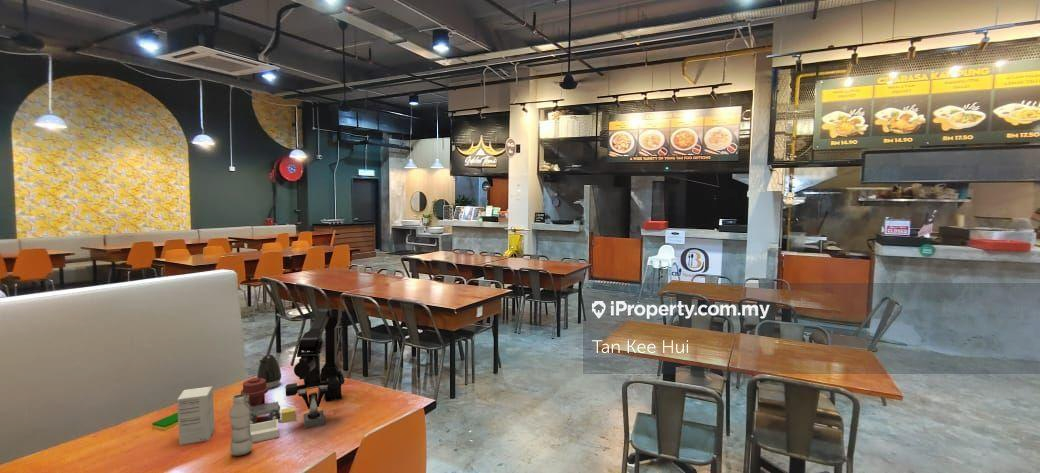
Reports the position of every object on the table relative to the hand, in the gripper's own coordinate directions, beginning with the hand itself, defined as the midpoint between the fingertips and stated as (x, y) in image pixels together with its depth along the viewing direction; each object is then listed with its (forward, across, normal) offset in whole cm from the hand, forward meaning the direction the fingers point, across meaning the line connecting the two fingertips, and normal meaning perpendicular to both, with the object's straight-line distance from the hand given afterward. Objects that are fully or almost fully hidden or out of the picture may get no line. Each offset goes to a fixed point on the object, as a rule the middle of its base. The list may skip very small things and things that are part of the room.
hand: (313, 407), depth 181 cm
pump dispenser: (+6, +15, -51) cm, 53 cm away
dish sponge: (+7, +47, -28) cm, 55 cm away
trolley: (+6, +18, -13) cm, 22 cm away
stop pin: (+4, 0, 0) cm, 4 cm away
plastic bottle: (+6, +24, +12) cm, 27 cm away
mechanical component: (+6, +20, -27) cm, 34 cm away
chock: (+6, +9, -8) cm, 14 cm away
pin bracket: (+6, 0, 0) cm, 6 cm away
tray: (+6, +18, +1) cm, 19 cm away
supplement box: (+6, +38, -9) cm, 40 cm away
